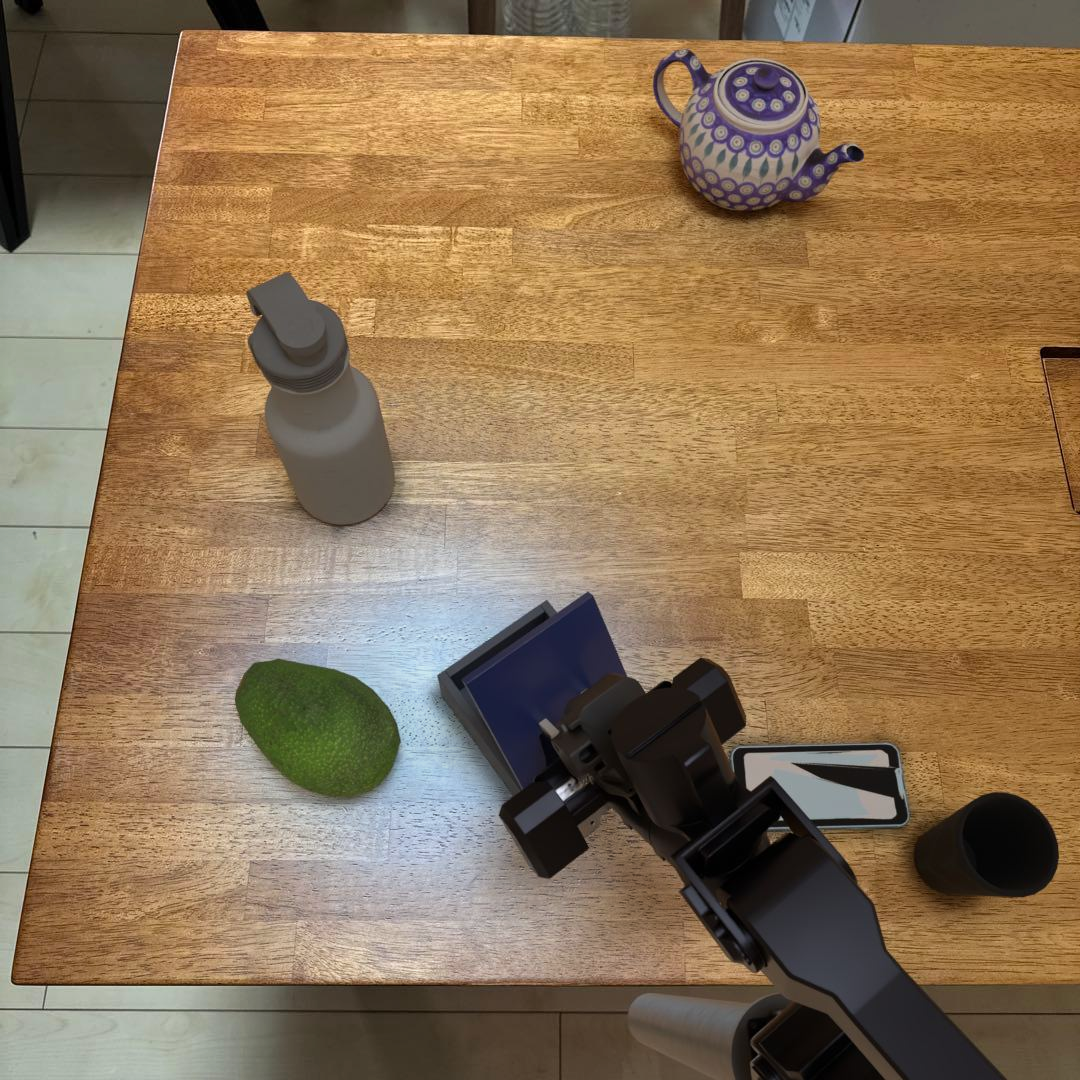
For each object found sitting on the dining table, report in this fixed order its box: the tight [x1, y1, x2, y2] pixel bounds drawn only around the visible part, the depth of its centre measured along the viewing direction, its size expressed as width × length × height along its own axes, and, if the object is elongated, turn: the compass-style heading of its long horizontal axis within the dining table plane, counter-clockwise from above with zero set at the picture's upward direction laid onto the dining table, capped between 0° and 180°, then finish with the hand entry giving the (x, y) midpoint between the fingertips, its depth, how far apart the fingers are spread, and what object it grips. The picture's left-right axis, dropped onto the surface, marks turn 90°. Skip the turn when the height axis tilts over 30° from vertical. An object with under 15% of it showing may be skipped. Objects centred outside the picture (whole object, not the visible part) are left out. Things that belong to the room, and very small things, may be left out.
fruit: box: [234, 658, 402, 798], centre depth 86 cm, size 15×10×10 cm, turn 55°
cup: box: [912, 791, 1060, 898], centre depth 82 cm, size 8×8×12 cm
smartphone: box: [729, 741, 911, 832], centre depth 89 cm, size 7×1×15 cm
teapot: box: [652, 48, 865, 211], centre depth 110 cm, size 25×15×15 cm, turn 51°
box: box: [436, 599, 588, 797], centre depth 88 cm, size 14×12×7 cm
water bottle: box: [245, 271, 396, 526], centre depth 87 cm, size 10×10×28 cm
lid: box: [462, 591, 628, 790], centre depth 77 cm, size 14×12×4 cm
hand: (571, 717), depth 79 cm, fingers closed on lid, 5 cm apart
